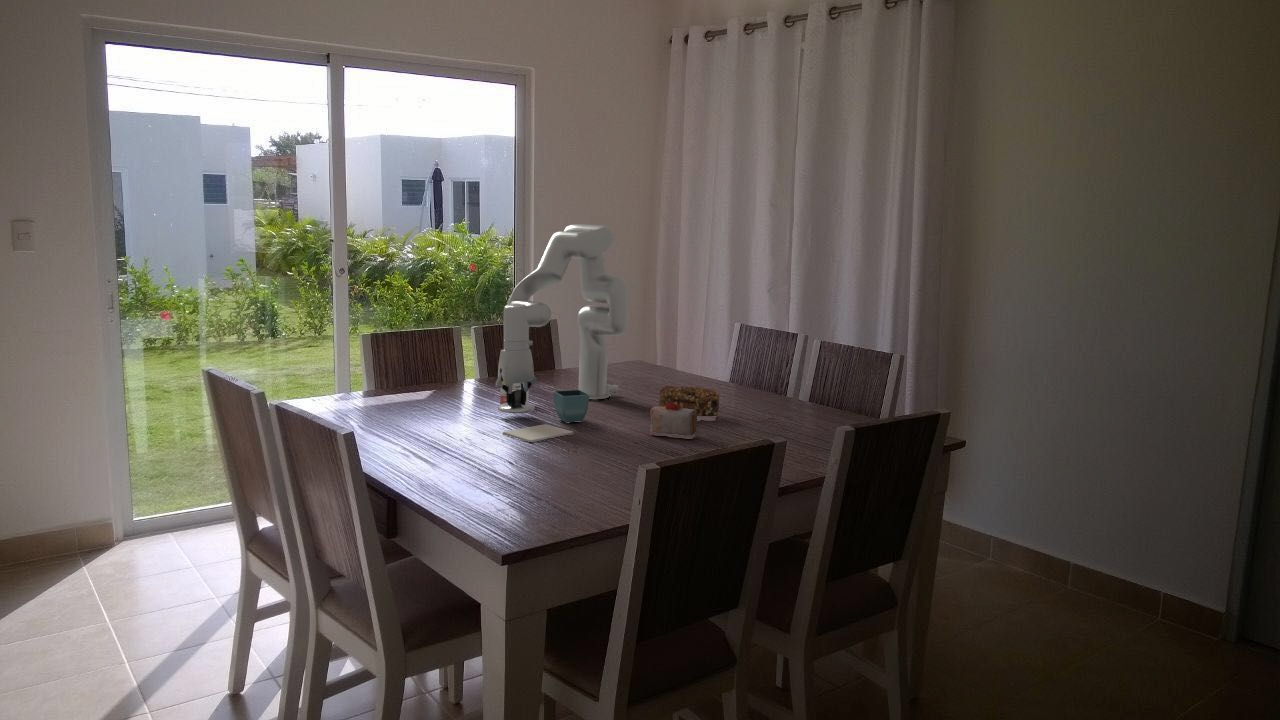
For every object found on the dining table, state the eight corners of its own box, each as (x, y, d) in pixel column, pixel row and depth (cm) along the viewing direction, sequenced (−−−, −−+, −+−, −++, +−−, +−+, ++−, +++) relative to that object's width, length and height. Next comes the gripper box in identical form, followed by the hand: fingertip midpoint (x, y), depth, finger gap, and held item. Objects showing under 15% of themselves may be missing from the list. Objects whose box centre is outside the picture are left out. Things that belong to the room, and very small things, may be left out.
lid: (522, 402, 291) (522, 384, 290) (541, 410, 282) (541, 391, 281) (491, 407, 284) (491, 389, 283) (509, 415, 276) (509, 396, 275)
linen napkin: (545, 426, 274) (545, 424, 274) (573, 434, 266) (573, 431, 266) (502, 434, 263) (502, 431, 262) (530, 443, 255) (530, 440, 254)
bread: (657, 419, 290) (659, 388, 288) (660, 412, 300) (661, 382, 299) (717, 423, 288) (719, 391, 287) (718, 416, 299) (720, 385, 297)
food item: (645, 436, 267) (647, 403, 266) (653, 430, 275) (655, 398, 273) (692, 441, 264) (693, 407, 262) (698, 435, 271) (700, 402, 270)
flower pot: (551, 419, 284) (552, 390, 283) (578, 417, 288) (579, 389, 286) (561, 425, 276) (562, 396, 275) (589, 424, 280) (590, 394, 278)
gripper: (535, 341, 287) (535, 399, 290) (485, 345, 278) (486, 405, 282) (546, 345, 281) (546, 404, 284) (495, 349, 272) (496, 410, 276)
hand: (516, 404), depth 283 cm, fingers closed on lid, 3 cm apart
